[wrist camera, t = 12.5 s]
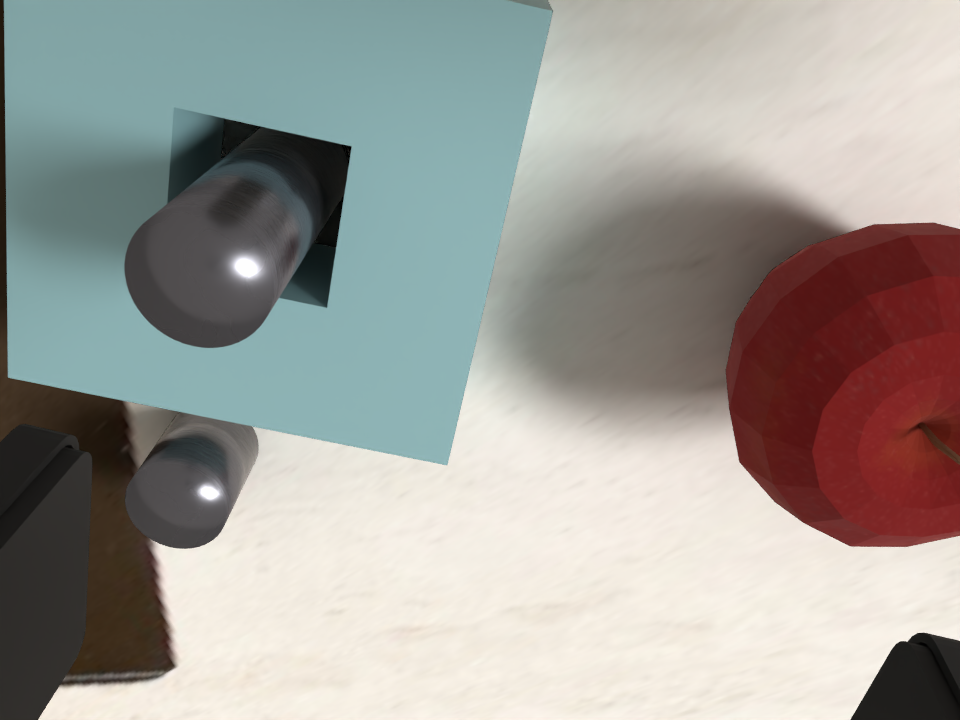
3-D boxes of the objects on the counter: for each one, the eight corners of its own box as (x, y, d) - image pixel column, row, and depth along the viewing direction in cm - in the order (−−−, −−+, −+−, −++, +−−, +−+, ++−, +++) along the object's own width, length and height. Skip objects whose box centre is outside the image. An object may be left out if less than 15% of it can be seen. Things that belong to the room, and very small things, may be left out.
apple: (881, 117, 34) (1050, 203, 23) (1018, 323, 37) (1221, 481, 26) (639, 296, 37) (689, 444, 26) (784, 471, 40) (881, 664, 30)
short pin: (171, 394, 40) (127, 454, 35) (263, 412, 40) (230, 474, 35) (165, 471, 41) (123, 538, 37) (253, 488, 42) (222, 556, 37)
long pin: (250, 105, 34) (127, 192, 23) (355, 128, 34) (282, 224, 24) (240, 207, 36) (121, 331, 25) (341, 228, 36) (265, 361, 25)
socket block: (91, -109, 31) (2, -117, 26) (546, -3, 32) (553, 10, 27) (80, 313, 38) (8, 377, 33) (456, 390, 39) (447, 465, 34)
